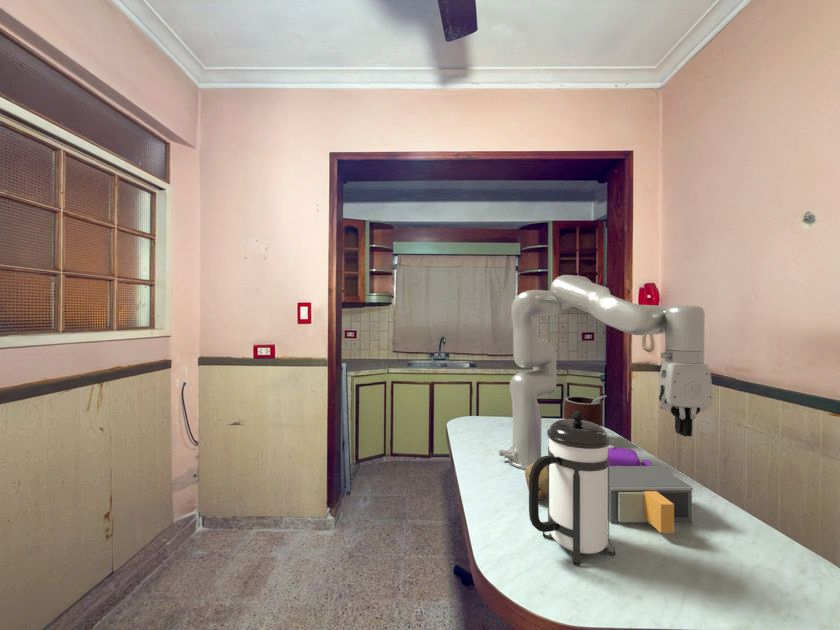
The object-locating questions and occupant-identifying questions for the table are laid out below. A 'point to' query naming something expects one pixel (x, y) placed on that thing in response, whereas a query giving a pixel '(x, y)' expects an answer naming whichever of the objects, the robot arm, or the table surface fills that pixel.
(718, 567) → the table surface
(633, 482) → the box
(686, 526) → the table surface
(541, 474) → the natural sponge
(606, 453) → the coffee press
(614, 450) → the toy camera
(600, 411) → the mate gourd
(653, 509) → the orange block handle
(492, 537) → the table surface
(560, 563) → the table surface
